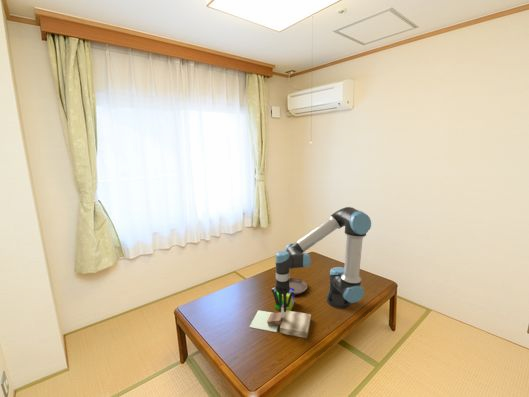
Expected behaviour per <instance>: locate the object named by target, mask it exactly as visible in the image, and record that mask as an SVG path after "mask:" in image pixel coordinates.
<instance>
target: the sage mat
mask: <svg viewBox="0 0 529 397" xmlns="http://www.w3.org/2000/svg"><path fill="white" fill-rule="evenodd" d="M271 313H273V312H271V311H264V310H259V309H258V310H257V311H256V314H255V316H254V317H253V319H252V321H251V323H250V325H249V328H250V329H251V328H252V329H256V330H261V331H267V332H270V333H272V332H273V333H277V332H278V329H279V328H280V325H271V326H268V323H267V321H268V318H269V316H270V314H271Z"/></svg>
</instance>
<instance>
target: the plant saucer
mask: <svg viewBox="0 0 529 397" xmlns="http://www.w3.org/2000/svg"><path fill="white" fill-rule="evenodd" d="M289 287H290V288H293V289H294V296H298V295H301V294H303V293H304V292H305V291H306V290H307V289H308V284H307V282H306V281H305V280H303V279H301V278H298V277H289Z"/></svg>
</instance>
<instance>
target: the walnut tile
mask: <svg viewBox="0 0 529 397" xmlns="http://www.w3.org/2000/svg"><path fill="white" fill-rule="evenodd" d="M282 320H283V318H281V311H279V312H272V313H271V314H270V316H269V318H268V321H267V323H268V326H271V325H279V326H281V323H282Z"/></svg>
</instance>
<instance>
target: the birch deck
mask: <svg viewBox="0 0 529 397" xmlns="http://www.w3.org/2000/svg"><path fill="white" fill-rule="evenodd" d="M311 320H312V314H311V313H305V312H299V311H292V310H291V311H287V310H286V312H285V316H284V318H283V320H282V323H281V324H280V325H279V334H283V335H288V336H289V335H290V336H293V337H300V338H305V339H308V335H309V332H310V331H309V330H310V326H311V322H312V321H311Z"/></svg>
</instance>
